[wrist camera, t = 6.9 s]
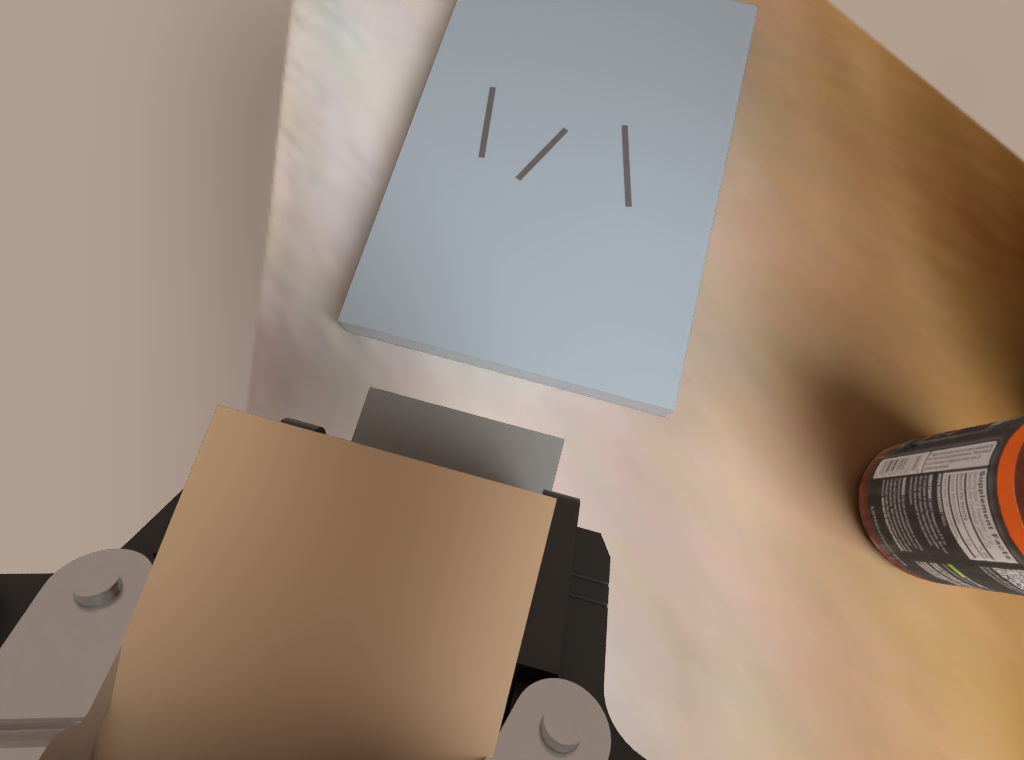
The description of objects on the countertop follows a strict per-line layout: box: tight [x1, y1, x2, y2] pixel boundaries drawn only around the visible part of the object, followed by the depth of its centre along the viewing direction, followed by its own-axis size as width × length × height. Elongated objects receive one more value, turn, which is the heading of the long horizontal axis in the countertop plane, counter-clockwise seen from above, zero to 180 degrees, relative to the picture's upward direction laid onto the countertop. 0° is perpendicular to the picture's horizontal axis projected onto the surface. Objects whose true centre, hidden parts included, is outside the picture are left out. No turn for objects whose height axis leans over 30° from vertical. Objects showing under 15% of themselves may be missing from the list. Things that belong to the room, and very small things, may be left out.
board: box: [338, 0, 758, 417], centre depth 27 cm, size 15×22×2 cm
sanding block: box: [90, 387, 564, 760], centre depth 11 cm, size 5×8×9 cm, turn 165°
